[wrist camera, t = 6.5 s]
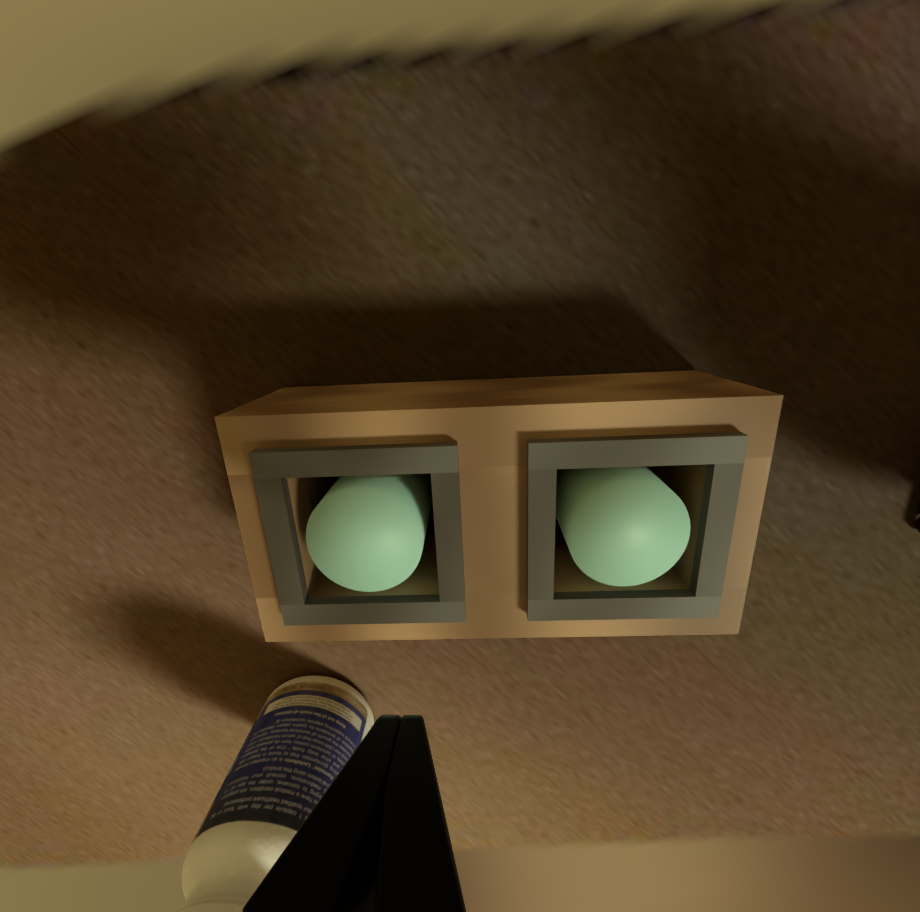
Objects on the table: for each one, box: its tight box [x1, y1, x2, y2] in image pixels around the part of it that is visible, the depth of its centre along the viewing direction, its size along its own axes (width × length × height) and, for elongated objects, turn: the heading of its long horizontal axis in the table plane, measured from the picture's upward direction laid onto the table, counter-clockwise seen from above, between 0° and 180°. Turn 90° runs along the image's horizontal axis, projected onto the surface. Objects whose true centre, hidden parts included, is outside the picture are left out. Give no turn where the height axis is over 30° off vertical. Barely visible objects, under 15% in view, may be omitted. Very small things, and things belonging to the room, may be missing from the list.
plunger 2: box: [556, 466, 691, 586], centre depth 16 cm, size 4×4×5 cm
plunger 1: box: [306, 473, 433, 592], centre depth 16 cm, size 4×4×5 cm
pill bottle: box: [179, 675, 374, 912], centre depth 18 cm, size 6×6×10 cm
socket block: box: [214, 370, 784, 642], centre depth 16 cm, size 16×8×5 cm, turn 93°
